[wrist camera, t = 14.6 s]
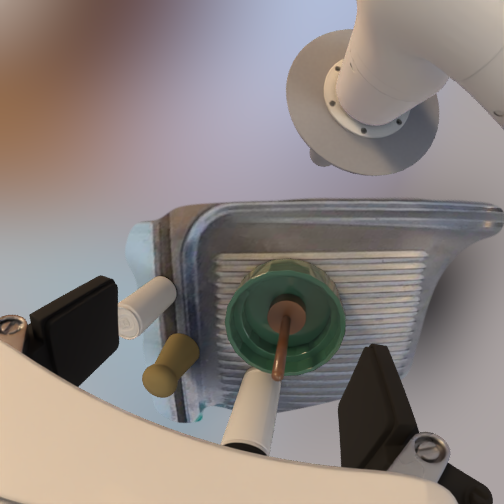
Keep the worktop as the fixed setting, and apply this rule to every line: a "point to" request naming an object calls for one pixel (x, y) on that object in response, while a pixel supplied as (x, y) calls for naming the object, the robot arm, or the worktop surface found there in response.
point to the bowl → (265, 338)
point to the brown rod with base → (285, 327)
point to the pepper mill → (170, 365)
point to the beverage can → (144, 306)
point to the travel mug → (253, 414)
